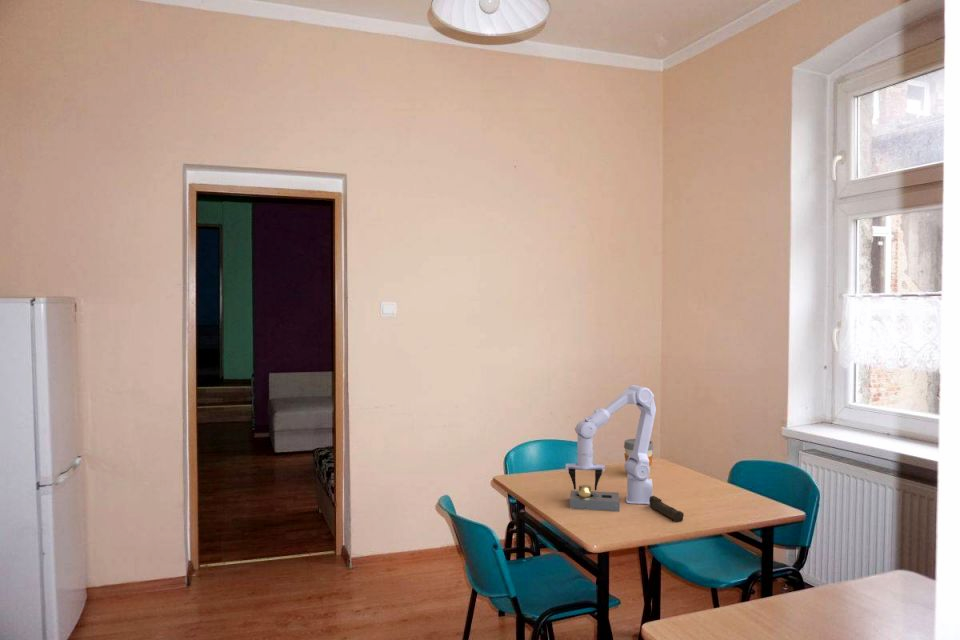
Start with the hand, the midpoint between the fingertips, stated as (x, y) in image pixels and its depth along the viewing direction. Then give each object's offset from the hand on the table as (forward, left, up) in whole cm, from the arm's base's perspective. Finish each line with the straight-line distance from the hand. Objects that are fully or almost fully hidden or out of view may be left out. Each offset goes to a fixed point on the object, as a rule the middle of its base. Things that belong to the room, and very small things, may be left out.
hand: (585, 489), depth 241 cm
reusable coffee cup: (-22, -47, -6) cm, 52 cm away
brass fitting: (0, 0, -6) cm, 6 cm away
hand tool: (-28, +6, -6) cm, 29 cm away
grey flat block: (-3, 0, -6) cm, 7 cm away
